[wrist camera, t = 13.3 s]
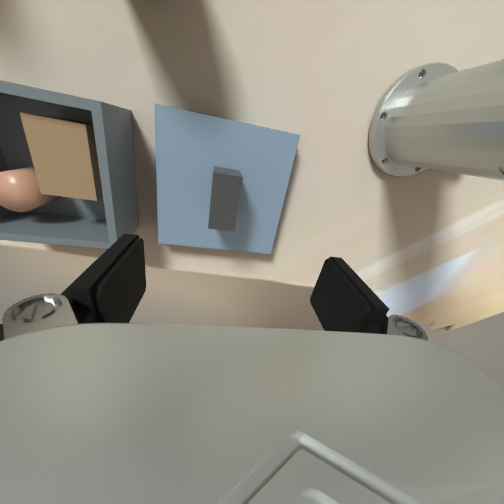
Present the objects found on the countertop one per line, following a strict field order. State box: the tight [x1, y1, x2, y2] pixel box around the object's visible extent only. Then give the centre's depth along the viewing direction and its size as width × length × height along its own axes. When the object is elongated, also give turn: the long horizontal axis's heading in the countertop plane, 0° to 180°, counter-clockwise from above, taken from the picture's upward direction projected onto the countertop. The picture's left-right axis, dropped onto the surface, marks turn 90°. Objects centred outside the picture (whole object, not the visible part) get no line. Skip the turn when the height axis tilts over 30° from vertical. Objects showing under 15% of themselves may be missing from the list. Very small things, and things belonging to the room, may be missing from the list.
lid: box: [155, 104, 300, 254], centre depth 26 cm, size 16×16×8 cm
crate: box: [0, 81, 139, 249], centre depth 23 cm, size 14×14×7 cm
